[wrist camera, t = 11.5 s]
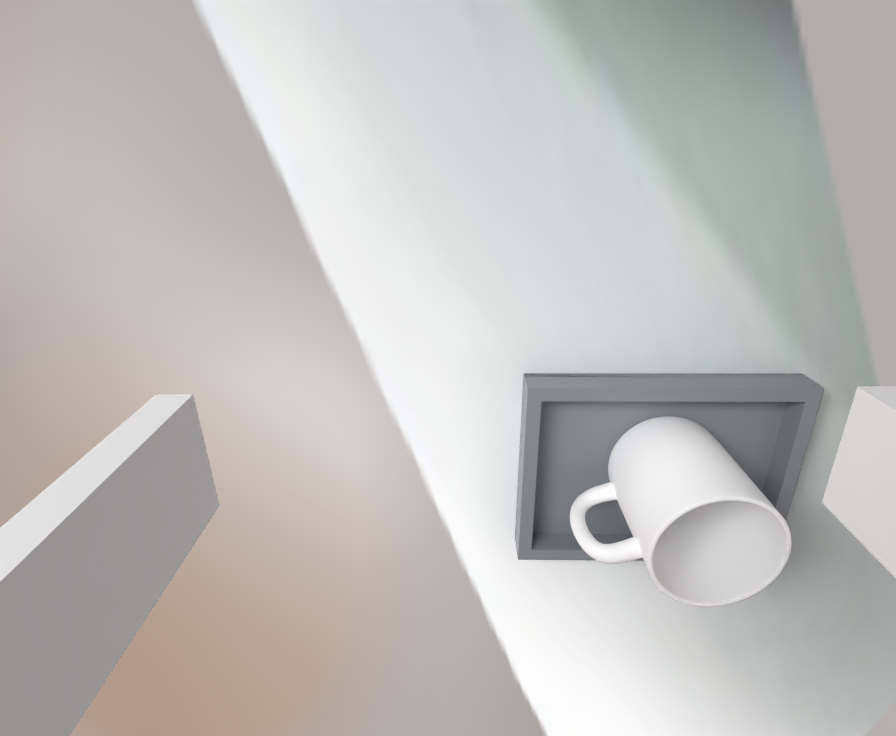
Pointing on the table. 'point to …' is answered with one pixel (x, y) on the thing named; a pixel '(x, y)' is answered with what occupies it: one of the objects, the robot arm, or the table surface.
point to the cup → (687, 515)
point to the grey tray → (629, 403)
